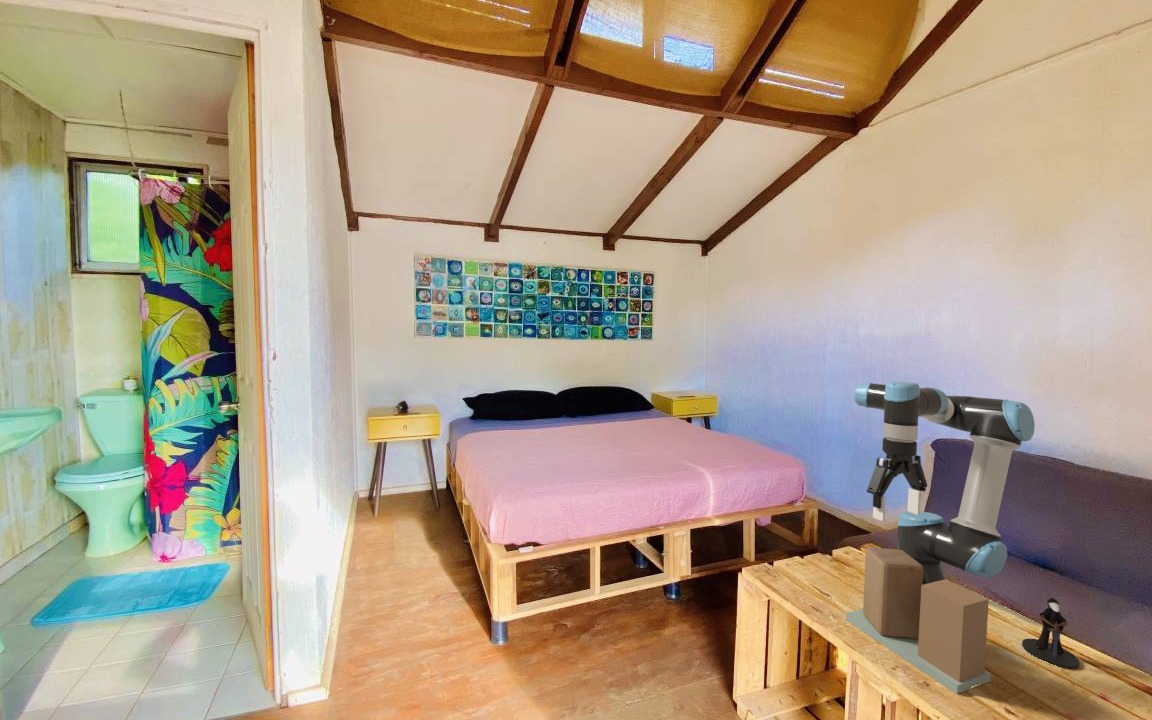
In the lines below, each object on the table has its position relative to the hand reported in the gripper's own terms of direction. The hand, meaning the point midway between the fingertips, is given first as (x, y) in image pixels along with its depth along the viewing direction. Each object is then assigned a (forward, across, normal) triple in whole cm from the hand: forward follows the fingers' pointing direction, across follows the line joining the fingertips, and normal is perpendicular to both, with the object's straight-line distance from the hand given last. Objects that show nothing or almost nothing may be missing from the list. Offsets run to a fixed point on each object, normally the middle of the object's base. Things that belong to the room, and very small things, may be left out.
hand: (896, 516), depth 120 cm
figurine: (+33, -30, +20) cm, 49 cm away
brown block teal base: (+32, +2, +6) cm, 33 cm away
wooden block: (+31, +2, +1) cm, 31 cm away
